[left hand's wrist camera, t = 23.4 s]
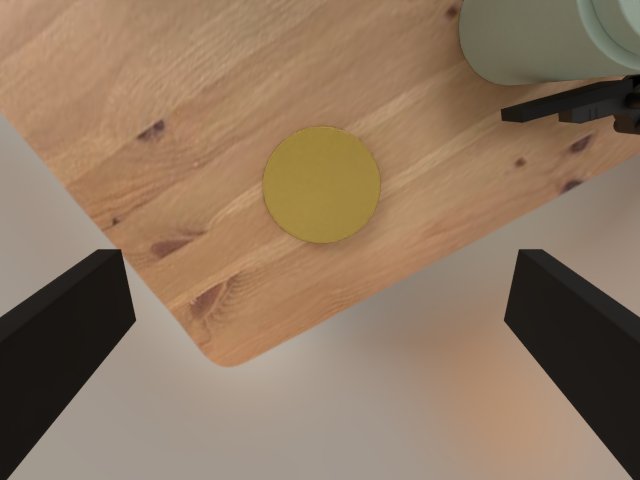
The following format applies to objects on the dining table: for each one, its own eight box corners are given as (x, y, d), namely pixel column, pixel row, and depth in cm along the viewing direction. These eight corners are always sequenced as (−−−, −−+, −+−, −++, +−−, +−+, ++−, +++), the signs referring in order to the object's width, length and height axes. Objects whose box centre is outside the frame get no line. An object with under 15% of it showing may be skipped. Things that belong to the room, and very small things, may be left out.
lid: (243, 166, 31) (239, 170, 30) (340, 101, 29) (341, 101, 28) (305, 255, 34) (304, 262, 32) (397, 200, 32) (401, 206, 31)
